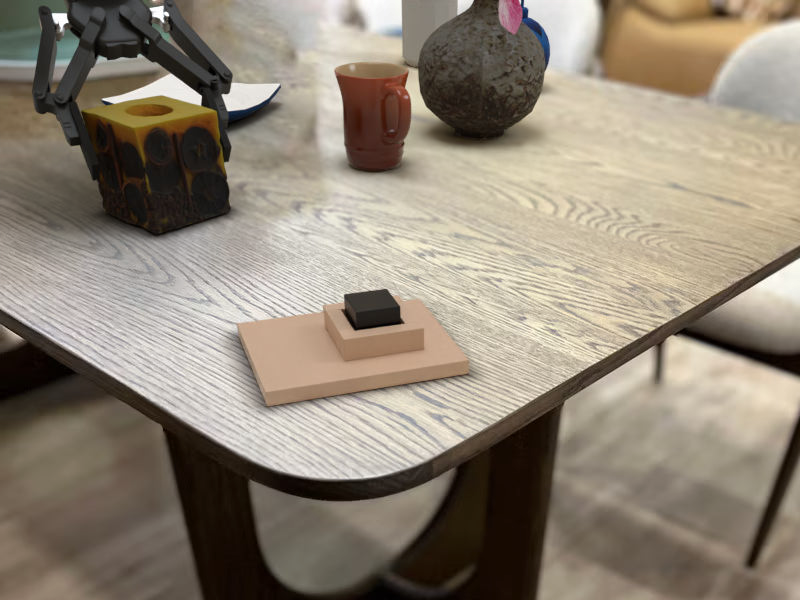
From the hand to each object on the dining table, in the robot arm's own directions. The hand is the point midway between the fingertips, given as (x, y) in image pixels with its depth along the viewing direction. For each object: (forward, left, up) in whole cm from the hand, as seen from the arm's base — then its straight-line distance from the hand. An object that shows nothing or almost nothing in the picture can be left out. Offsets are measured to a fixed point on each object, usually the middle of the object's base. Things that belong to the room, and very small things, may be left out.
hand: (163, 164), depth 87 cm
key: (+12, -37, -3) cm, 38 cm away
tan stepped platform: (+10, -37, -5) cm, 38 cm away
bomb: (+60, +44, -5) cm, 75 cm away
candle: (0, +1, -5) cm, 6 cm away
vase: (+45, +21, -5) cm, 50 cm away
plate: (+9, +43, -5) cm, 45 cm away
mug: (+27, +10, -5) cm, 29 cm away
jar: (+53, +66, -5) cm, 85 cm away
